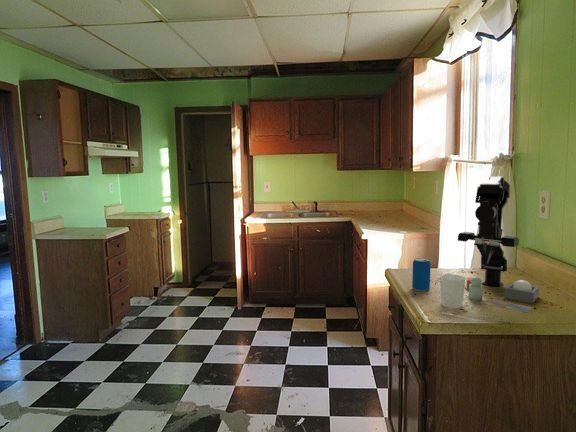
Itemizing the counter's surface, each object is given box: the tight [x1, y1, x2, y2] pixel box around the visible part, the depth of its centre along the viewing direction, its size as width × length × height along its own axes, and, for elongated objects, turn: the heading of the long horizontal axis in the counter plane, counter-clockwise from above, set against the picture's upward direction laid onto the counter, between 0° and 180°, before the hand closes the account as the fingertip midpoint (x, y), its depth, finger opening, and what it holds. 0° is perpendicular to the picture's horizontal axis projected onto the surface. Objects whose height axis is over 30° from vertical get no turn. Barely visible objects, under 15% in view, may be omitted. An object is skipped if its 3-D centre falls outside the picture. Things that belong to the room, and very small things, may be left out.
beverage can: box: [411, 257, 432, 292], centre depth 160 cm, size 6×6×12 cm
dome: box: [513, 279, 532, 292], centre depth 149 cm, size 6×6×6 cm
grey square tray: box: [504, 282, 540, 304], centre depth 149 cm, size 9×9×4 cm
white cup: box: [439, 273, 466, 309], centre depth 142 cm, size 8×8×10 cm
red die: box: [466, 277, 473, 291], centre depth 160 cm, size 4×4×4 cm
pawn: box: [468, 276, 484, 302], centre depth 147 cm, size 4×4×8 cm
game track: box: [463, 295, 533, 313], centre depth 143 cm, size 6×20×1 cm, turn 49°
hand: (486, 263), depth 146 cm, fingers closed
